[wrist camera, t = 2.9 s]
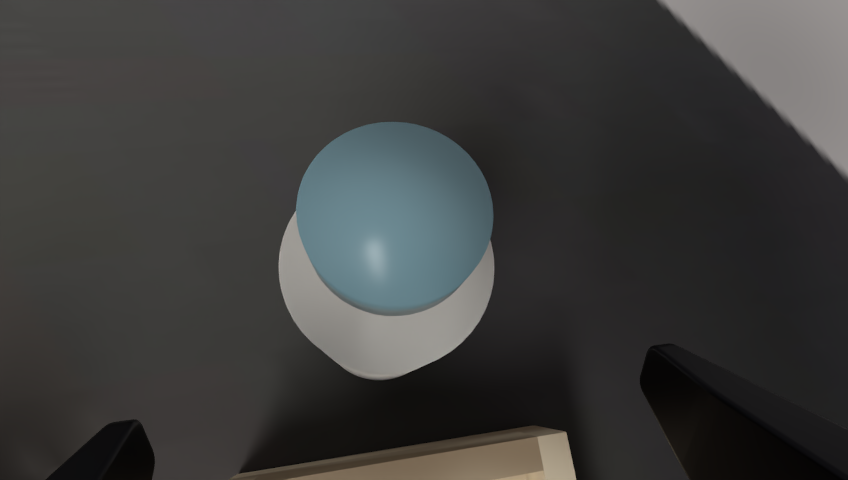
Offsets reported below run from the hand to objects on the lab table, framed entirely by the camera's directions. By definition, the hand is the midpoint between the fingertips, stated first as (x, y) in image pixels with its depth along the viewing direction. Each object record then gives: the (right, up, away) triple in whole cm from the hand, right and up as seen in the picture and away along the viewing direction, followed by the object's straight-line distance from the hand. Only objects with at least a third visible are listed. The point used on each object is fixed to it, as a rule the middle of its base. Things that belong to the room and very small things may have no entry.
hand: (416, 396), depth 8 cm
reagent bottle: (-2, 0, +10) cm, 10 cm away
